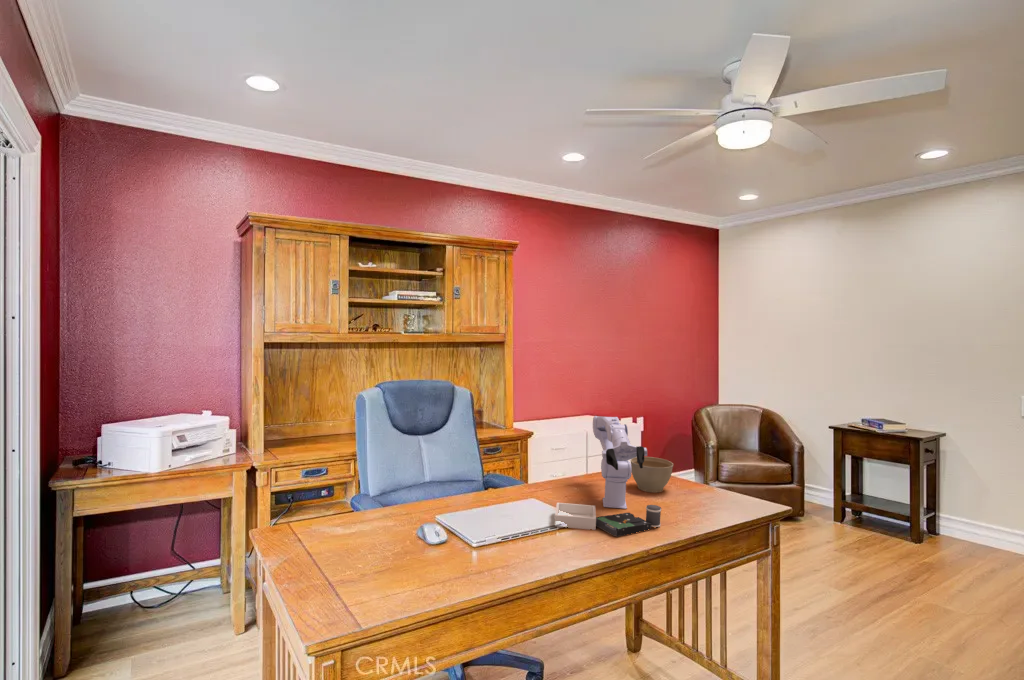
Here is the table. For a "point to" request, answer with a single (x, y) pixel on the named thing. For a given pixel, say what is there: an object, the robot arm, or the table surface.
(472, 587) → the table surface
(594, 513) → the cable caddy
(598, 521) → the disk drive
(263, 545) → the table surface
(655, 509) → the dark grey spool
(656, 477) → the planter bowl
